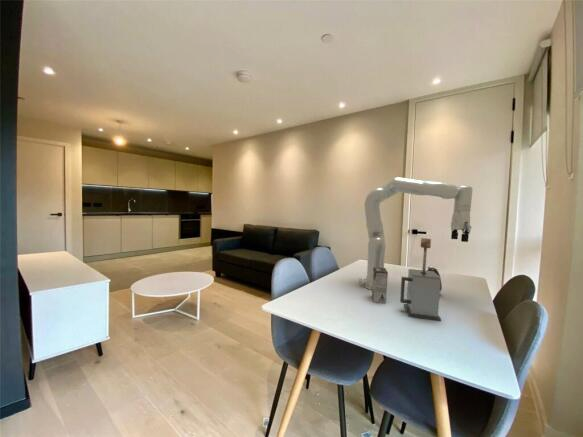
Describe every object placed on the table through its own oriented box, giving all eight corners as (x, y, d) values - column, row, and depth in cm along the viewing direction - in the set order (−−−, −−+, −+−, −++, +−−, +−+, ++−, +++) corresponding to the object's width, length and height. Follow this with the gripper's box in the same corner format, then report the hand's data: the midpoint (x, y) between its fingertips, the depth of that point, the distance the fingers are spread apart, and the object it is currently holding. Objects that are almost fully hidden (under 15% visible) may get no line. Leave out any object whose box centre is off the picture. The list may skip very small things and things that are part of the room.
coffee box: (371, 295, 139) (373, 266, 138) (383, 297, 137) (385, 267, 136) (373, 302, 130) (375, 271, 129) (386, 303, 128) (388, 272, 127)
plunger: (414, 283, 114) (417, 239, 113) (410, 278, 123) (413, 236, 122) (436, 286, 112) (439, 240, 111) (431, 280, 121) (434, 238, 119)
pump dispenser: (436, 291, 150) (437, 265, 149) (444, 297, 140) (446, 270, 139) (418, 289, 151) (419, 264, 150) (425, 296, 141) (427, 269, 140)
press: (402, 315, 114) (404, 274, 113) (397, 304, 127) (400, 267, 126) (440, 321, 110) (444, 278, 109) (432, 309, 123) (435, 270, 122)
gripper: (446, 208, 145) (443, 237, 146) (464, 209, 128) (461, 242, 129) (460, 208, 144) (457, 238, 146) (479, 209, 127) (476, 243, 128)
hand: (459, 240), depth 137 cm, fingers open, 9 cm apart
